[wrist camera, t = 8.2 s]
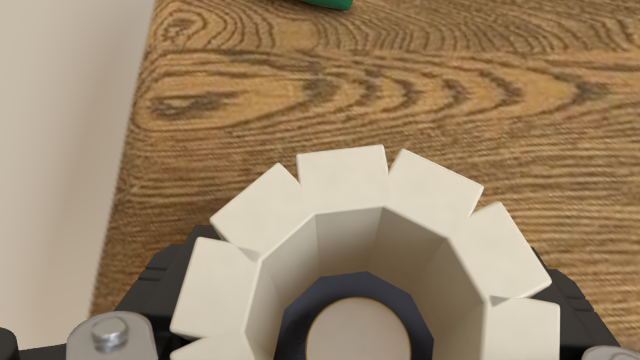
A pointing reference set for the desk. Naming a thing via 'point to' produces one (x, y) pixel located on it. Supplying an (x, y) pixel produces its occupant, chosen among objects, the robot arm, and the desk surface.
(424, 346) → the ring stand
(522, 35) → the desk surface
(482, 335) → the ring
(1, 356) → the robot arm
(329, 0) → the gaming controller
